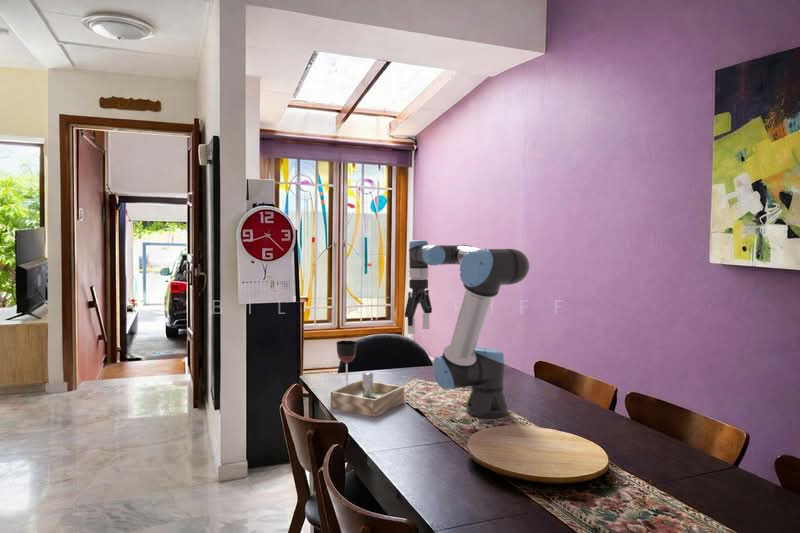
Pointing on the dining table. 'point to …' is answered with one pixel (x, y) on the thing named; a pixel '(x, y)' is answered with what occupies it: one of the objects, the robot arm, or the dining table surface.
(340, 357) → the wineglass
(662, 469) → the dining table surface
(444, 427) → the dining table surface
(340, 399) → the box
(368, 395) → the peg
